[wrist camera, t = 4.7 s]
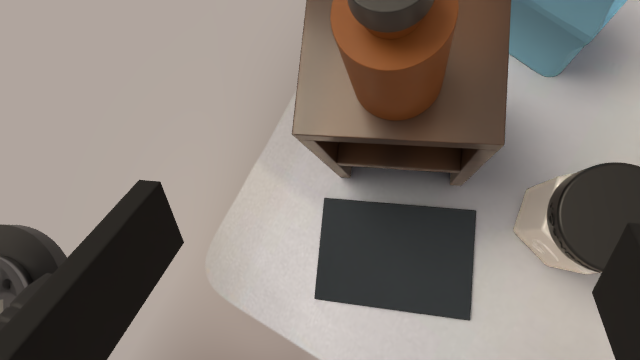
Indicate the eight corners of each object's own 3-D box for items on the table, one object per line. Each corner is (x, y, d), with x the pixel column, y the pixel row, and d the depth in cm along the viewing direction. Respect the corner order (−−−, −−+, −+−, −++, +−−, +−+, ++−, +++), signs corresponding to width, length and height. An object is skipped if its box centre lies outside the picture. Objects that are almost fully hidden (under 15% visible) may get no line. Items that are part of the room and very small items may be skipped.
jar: (494, 215, 42) (527, 208, 31) (557, 163, 42) (614, 135, 30) (561, 285, 40) (623, 305, 29) (628, 231, 40) (719, 229, 28)
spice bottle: (349, 118, 26) (308, 38, 16) (356, 35, 27) (323, -97, 16) (440, 122, 25) (464, 37, 14) (446, 35, 26) (472, -108, 15)
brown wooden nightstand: (340, 177, 46) (291, 134, 27) (348, 91, 47) (307, -9, 28) (461, 185, 43) (504, 145, 24) (467, 94, 45) (512, -15, 25)
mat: (315, 298, 45) (314, 298, 45) (325, 198, 46) (324, 197, 46) (469, 319, 42) (470, 320, 41) (475, 210, 43) (476, 210, 42)
